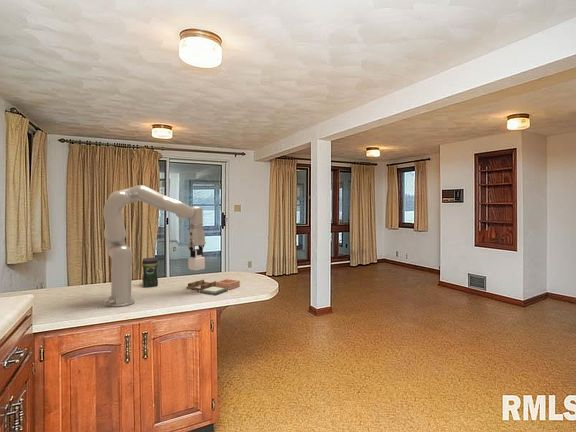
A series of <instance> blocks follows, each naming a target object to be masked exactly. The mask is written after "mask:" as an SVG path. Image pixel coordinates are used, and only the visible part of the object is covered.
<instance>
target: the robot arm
mask: <svg viewBox="0 0 576 432" xmlns="http://www.w3.org/2000/svg"><path fill="white" fill-rule="evenodd" d="M139 201H140V202H143V203H145V204H147V205H149V206H151V207H154V208H156V209H158V210H161V211H166V212H169V213H172V214H175V216H176V218H179V219H181V220H189V232H188V242H187V244H186V246H187V248H188V249H189V251H190V254H189V255H190V256H189V257H195V251H194V250H195V249H196V247H198V248H197V249H200V250H202V256H201V257H204V252H203V251H204V247H205V245H206V235H205V230H204V223H203V222H204V213H203V212H204V209H203V206H190V205H188V204H186V203H184V202H182V201H180V200H177V199H174V198H172V197H170V196H169V195H165V194H163V193H161V192H159V191H157V190H154V189H153V188H150V187H148V186H146V185H144V184H143V185H142V184H139V185H135V186H131V187H127V188H124V189H120V190H116V191H113V192H111V193H110V194H109V196H108V198H107V200H106V201H105V203H104V206H103V209H102V210H103V211H102V213H103V215H102V216H103V219H104V220H103V221H104V225H105V228H104V230H103V238H104V242H105V245H106V249H107V251H106V252H107V253H108V255H109V257H110V258H111V268H110V269H111V270H110V273H111V276H110V277H111V280H110V281H111V283H110V284H111V285H110V286H111V294H110V295H111V296H109V297H108V298H107V299H103V300H102V304H103V305H105V304H107V305H108V307H114V308H117V307H127V306H131V305H133V304H134V303H135V299H133V298H132V261H133V250H132V249H131V248H130V247H129V246H128V245H127V244H126V240H125V239H126V237H127V236H126V235H127V231H126V228H125V224H124V220H123V213H122V212H123V208H124V207H125V206H126V205H129V204H133V203H137V202H139Z"/></svg>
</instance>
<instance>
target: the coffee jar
mask: <svg viewBox="0 0 576 432" xmlns="http://www.w3.org/2000/svg"><path fill="white" fill-rule="evenodd" d="M141 266H142V281H141V283H142V284H141V285H142V287H143V288H152V287H157V286H158V285H159V280H158V279H159V278H158V272H157V271H158V268H157V267H158V258H157V257H144V258H143V259H142V262H141Z"/></svg>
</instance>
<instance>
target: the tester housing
mask: <svg viewBox="0 0 576 432" xmlns="http://www.w3.org/2000/svg"><path fill="white" fill-rule="evenodd" d="M206 289H207V288H206ZM203 290H204V289H203ZM203 290H200V291H199V294H202V295H209V296H217V295H221V294H223V293H226V292H227V293H228V291H229V290H228V289H226V288H224V290H221V291H218V292H209V291H203Z"/></svg>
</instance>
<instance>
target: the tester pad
mask: <svg viewBox="0 0 576 432" xmlns="http://www.w3.org/2000/svg"><path fill="white" fill-rule="evenodd" d="M221 290H224V288H219V287H216V286H215V287H210V288H207V289H204V290H203V291H209V292H218V291H221Z"/></svg>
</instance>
